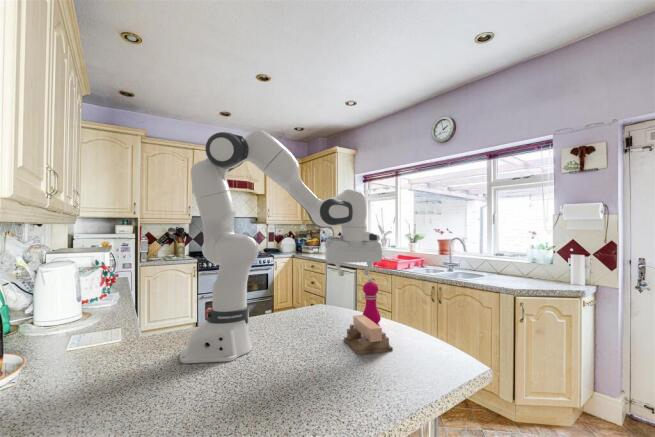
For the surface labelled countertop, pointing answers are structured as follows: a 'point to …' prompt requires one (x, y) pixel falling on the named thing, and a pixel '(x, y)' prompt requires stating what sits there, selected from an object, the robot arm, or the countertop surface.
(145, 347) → the countertop surface
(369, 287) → the pepper mill
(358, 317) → the peach rectangular block
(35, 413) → the countertop surface
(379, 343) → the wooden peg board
